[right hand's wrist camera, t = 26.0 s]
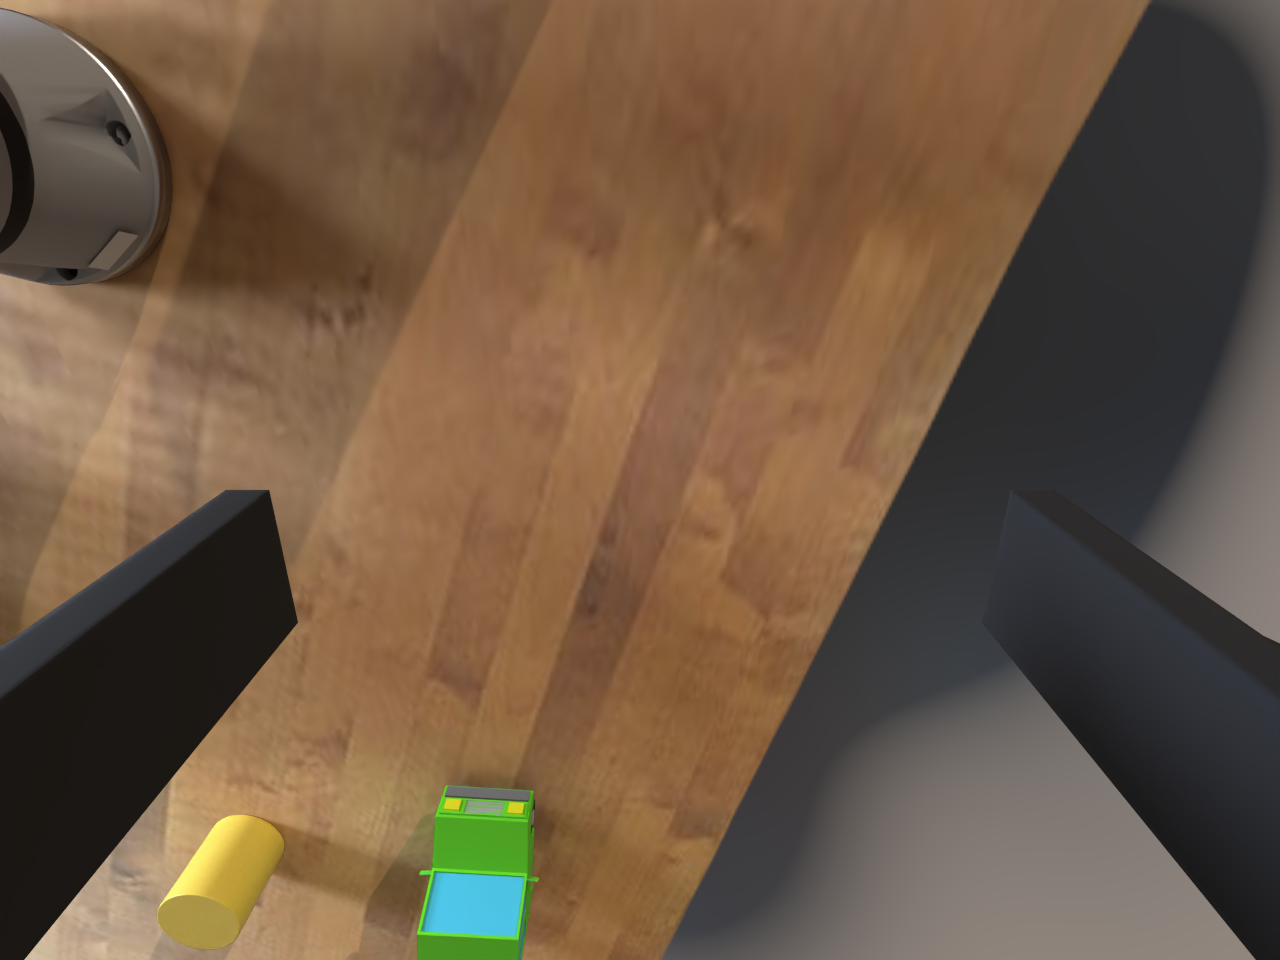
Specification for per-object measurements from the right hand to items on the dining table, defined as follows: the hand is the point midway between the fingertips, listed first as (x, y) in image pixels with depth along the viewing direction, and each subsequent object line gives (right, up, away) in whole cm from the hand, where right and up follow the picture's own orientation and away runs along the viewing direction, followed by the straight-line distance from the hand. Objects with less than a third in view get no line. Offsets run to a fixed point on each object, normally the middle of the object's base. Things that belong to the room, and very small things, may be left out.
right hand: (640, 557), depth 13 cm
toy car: (-14, -31, +52) cm, 62 cm away
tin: (-37, -33, +53) cm, 73 cm away
